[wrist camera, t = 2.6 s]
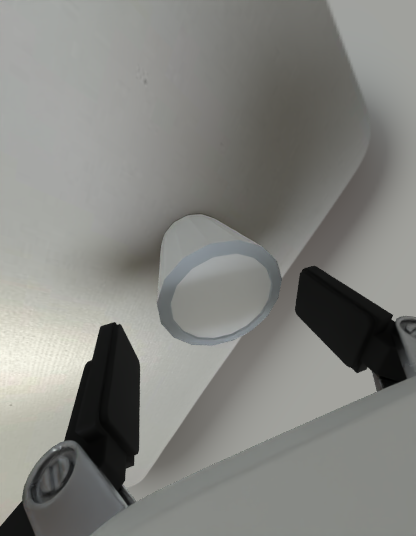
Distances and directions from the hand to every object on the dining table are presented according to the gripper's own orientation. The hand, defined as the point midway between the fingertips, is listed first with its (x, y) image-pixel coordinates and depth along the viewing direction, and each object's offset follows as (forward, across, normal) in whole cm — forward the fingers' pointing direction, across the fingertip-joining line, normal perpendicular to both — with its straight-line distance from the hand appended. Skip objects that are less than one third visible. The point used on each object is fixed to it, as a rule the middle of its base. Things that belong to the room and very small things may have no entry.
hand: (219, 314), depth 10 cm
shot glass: (+8, -1, 0) cm, 8 cm away
